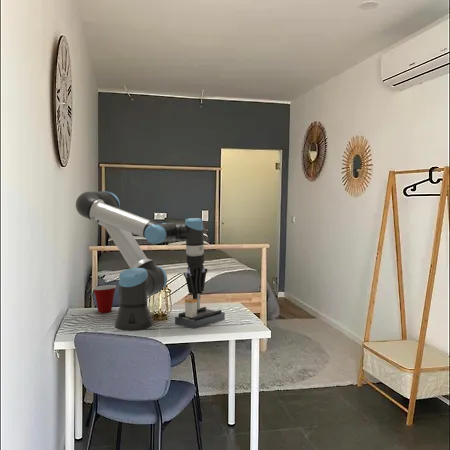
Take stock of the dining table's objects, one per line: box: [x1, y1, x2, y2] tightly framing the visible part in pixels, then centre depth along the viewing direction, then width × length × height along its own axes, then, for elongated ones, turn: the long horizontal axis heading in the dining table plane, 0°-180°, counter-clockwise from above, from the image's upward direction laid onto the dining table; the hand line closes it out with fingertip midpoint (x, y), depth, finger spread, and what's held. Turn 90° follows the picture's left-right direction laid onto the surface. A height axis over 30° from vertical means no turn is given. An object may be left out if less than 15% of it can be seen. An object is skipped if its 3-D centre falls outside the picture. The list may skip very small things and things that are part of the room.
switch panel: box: [174, 306, 226, 329], centre depth 215 cm, size 20×11×4 cm, turn 141°
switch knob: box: [184, 297, 197, 318], centre depth 210 cm, size 3×4×7 cm
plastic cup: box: [92, 284, 117, 314], centre depth 232 cm, size 11×11×12 cm
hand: (196, 308), depth 214 cm, fingers closed
